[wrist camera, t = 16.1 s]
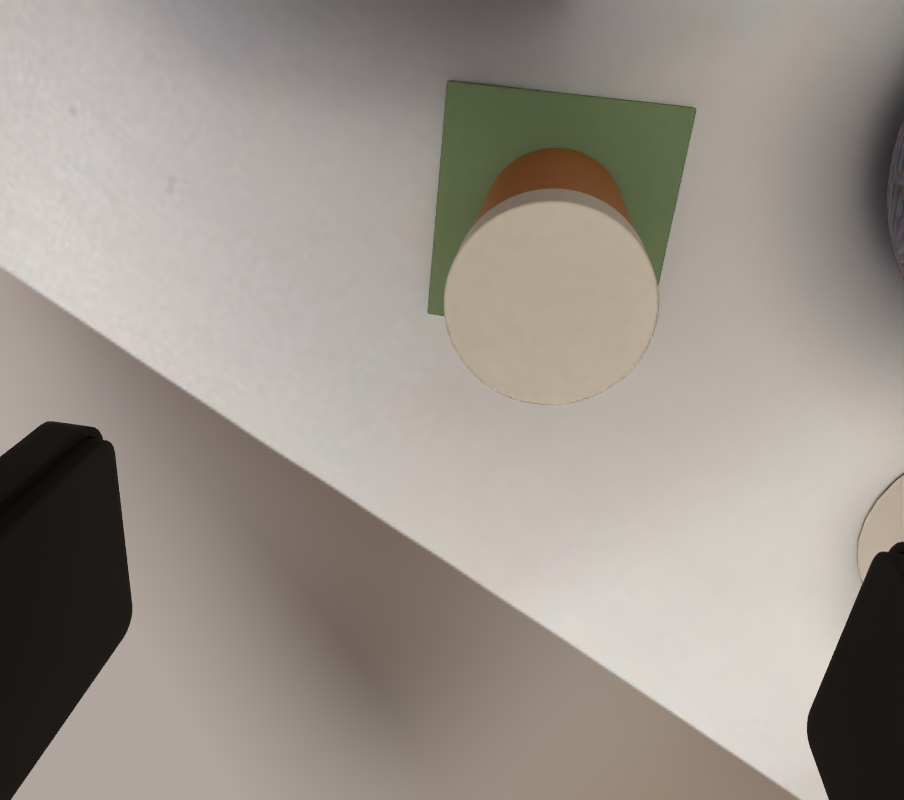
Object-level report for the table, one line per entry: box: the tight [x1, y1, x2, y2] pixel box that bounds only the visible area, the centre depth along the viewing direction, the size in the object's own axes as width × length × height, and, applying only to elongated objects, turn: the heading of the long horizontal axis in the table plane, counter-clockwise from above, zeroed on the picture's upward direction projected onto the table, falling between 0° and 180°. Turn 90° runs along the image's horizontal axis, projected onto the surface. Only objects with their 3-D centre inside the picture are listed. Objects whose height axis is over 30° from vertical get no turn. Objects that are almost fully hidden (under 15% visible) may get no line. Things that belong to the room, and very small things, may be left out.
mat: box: [428, 81, 696, 316], centre depth 34 cm, size 10×10×1 cm
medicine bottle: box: [444, 148, 659, 405], centre depth 28 cm, size 6×6×12 cm
